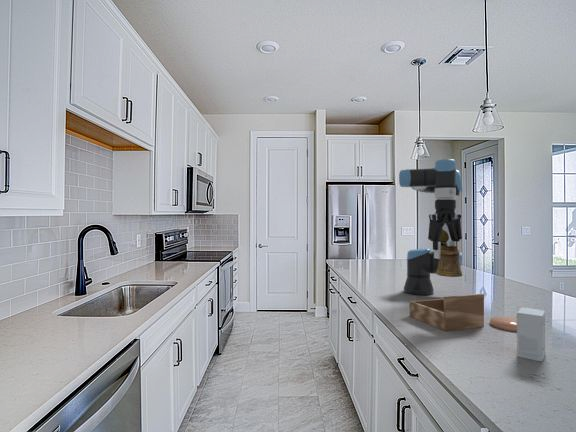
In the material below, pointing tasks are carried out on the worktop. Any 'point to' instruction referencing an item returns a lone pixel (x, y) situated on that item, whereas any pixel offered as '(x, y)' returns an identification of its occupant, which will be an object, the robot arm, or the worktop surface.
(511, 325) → the peach round disc
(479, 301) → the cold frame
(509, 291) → the worktop surface
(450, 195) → the robot arm
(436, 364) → the worktop surface
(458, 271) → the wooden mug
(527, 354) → the small box
